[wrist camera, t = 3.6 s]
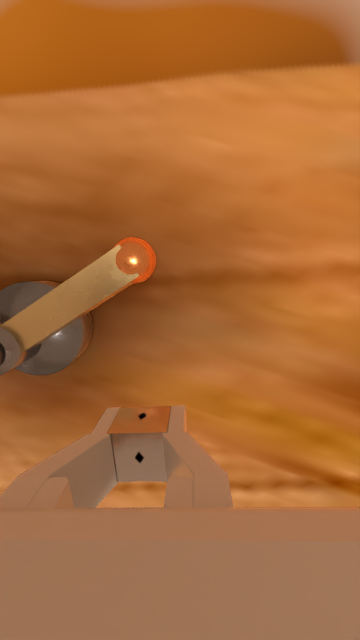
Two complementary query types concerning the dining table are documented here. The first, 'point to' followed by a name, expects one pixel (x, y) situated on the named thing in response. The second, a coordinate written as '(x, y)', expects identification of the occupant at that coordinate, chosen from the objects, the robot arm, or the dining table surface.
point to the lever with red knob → (65, 309)
